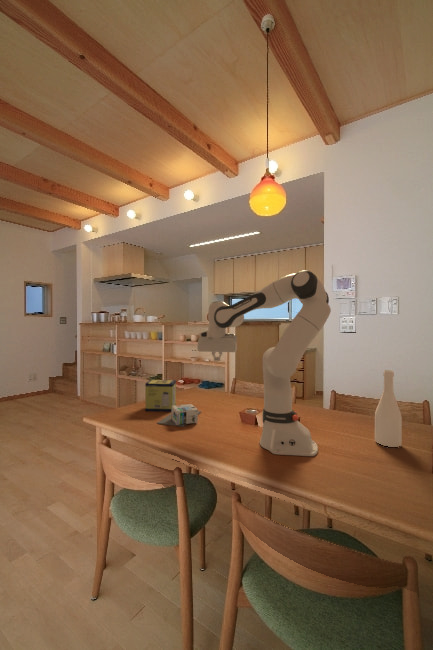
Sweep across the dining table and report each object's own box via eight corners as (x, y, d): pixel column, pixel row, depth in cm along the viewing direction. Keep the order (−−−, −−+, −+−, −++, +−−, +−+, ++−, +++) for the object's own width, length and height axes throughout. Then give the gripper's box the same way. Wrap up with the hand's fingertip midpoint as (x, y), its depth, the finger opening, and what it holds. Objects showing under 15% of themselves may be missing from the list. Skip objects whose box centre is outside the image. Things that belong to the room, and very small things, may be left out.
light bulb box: (198, 409, 143) (176, 411, 139) (198, 423, 143) (176, 425, 139) (191, 403, 153) (171, 405, 149) (191, 416, 153) (170, 418, 149)
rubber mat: (201, 412, 162) (201, 411, 162) (183, 426, 139) (183, 425, 139) (177, 409, 166) (177, 408, 166) (157, 423, 143) (157, 422, 143)
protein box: (149, 406, 173) (149, 379, 173) (176, 406, 173) (176, 379, 173) (144, 411, 163) (144, 383, 163) (172, 411, 162) (172, 383, 162)
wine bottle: (385, 438, 127) (386, 368, 127) (407, 446, 118) (407, 372, 118) (369, 441, 124) (370, 369, 123) (389, 450, 115) (390, 373, 115)
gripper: (238, 333, 150) (238, 360, 150) (200, 333, 156) (200, 359, 156) (235, 333, 144) (235, 362, 144) (196, 333, 150) (196, 360, 150)
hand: (217, 360), depth 150 cm, fingers closed
